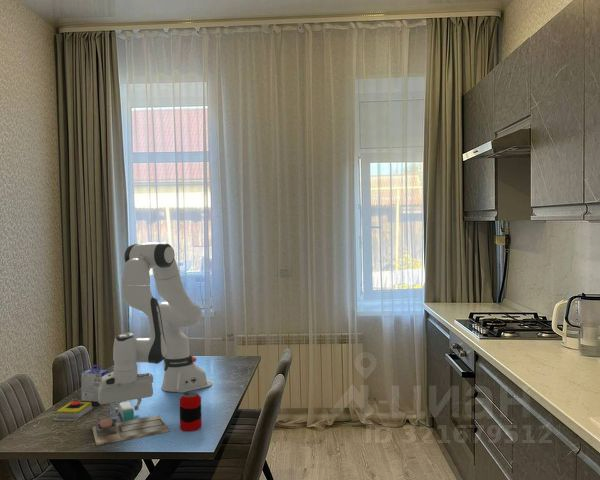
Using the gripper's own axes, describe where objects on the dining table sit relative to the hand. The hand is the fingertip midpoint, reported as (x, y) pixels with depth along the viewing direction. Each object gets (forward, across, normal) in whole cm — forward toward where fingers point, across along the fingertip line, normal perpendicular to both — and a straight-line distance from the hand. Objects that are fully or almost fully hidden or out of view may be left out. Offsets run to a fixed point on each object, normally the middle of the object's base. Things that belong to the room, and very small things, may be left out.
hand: (126, 411), depth 198 cm
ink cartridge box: (+2, +9, -27) cm, 29 cm away
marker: (+2, 0, 0) cm, 2 cm away
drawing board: (+2, +1, +16) cm, 16 cm away
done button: (0, +9, +16) cm, 18 cm away
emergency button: (+2, +18, -13) cm, 22 cm away
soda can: (+2, -19, +24) cm, 31 cm away
